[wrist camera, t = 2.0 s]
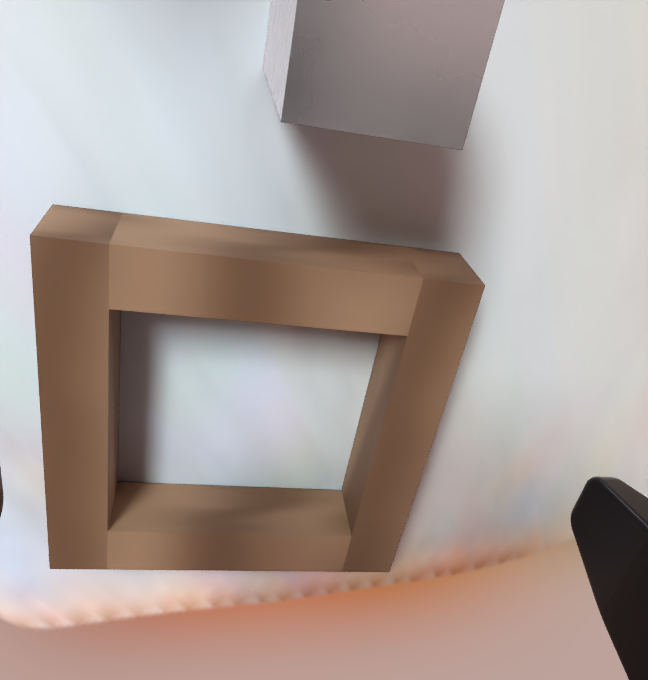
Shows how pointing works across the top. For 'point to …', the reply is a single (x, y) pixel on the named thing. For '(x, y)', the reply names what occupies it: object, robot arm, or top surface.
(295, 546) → the square wooden frame
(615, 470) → the top surface
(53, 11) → the top surface
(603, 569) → the robot arm
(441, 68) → the steel square peg
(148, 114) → the top surface
